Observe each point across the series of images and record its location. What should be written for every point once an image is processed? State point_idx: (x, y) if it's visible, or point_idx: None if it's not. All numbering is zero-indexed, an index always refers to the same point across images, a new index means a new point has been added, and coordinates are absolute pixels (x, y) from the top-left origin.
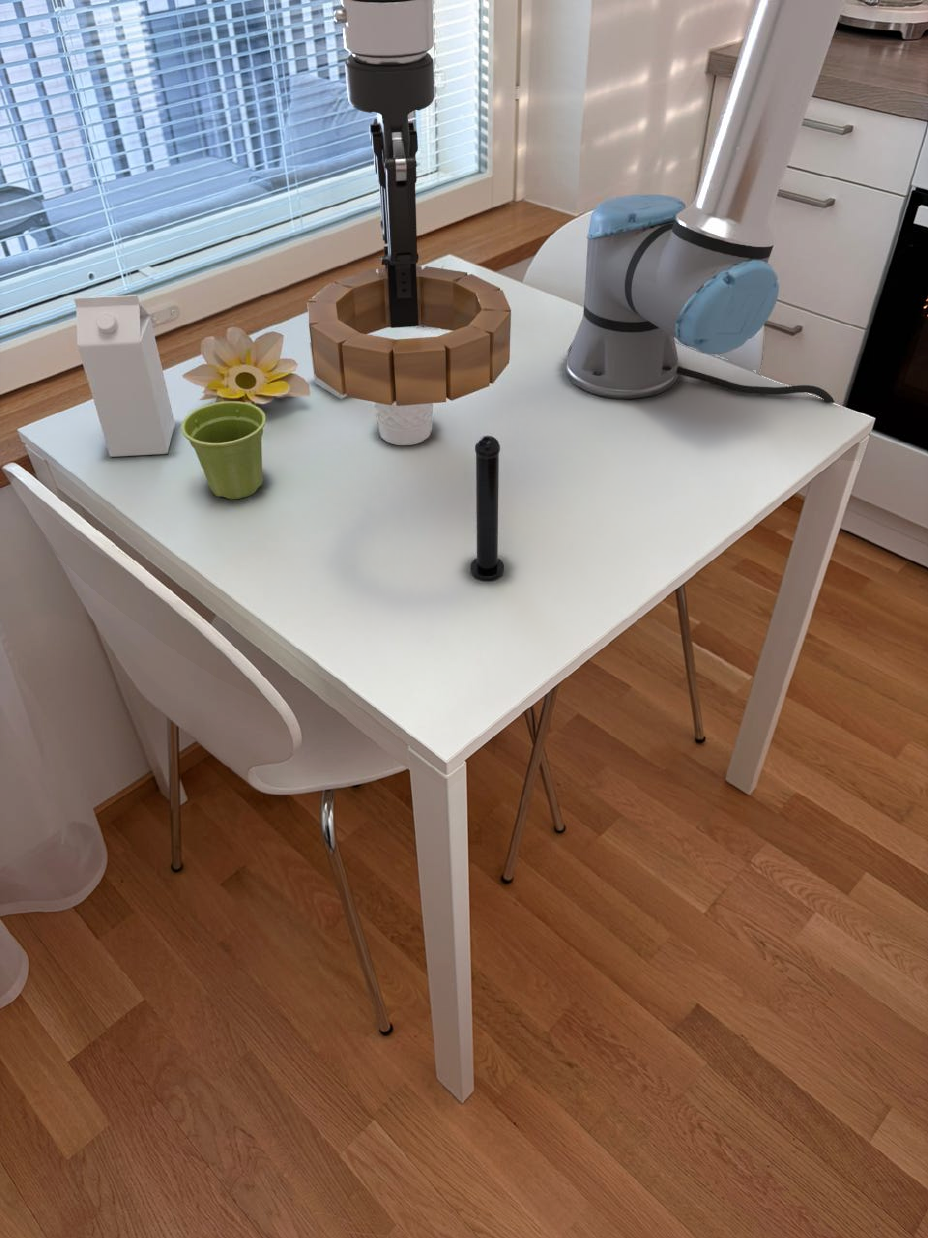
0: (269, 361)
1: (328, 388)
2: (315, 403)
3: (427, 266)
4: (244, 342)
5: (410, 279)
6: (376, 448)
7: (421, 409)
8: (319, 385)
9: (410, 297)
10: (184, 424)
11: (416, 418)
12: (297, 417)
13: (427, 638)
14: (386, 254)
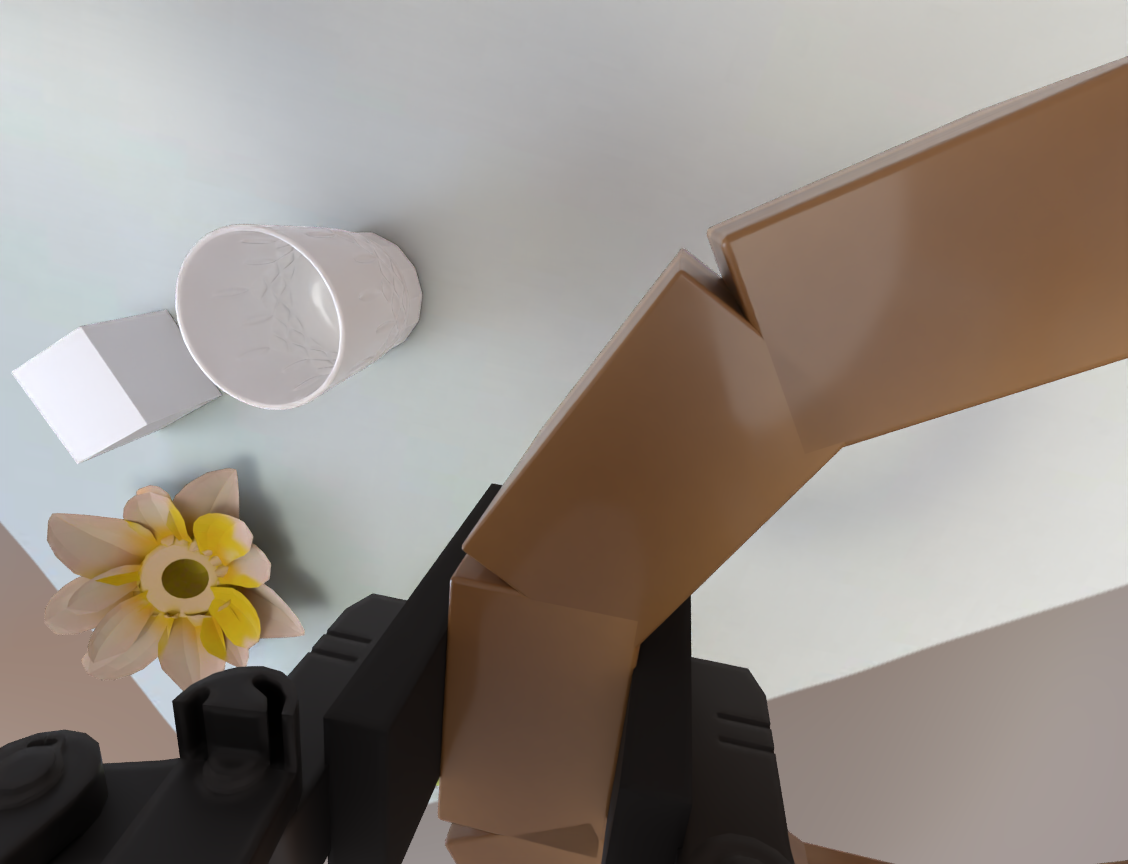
0: (126, 534)
1: (186, 413)
2: (234, 445)
3: (478, 544)
4: (88, 594)
5: (777, 776)
6: (419, 368)
7: (382, 274)
8: (168, 424)
9: (750, 676)
10: (438, 782)
11: (394, 286)
12: (282, 488)
13: (1095, 430)
14: (403, 851)
